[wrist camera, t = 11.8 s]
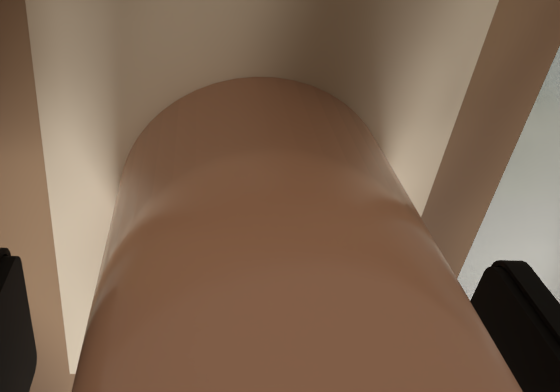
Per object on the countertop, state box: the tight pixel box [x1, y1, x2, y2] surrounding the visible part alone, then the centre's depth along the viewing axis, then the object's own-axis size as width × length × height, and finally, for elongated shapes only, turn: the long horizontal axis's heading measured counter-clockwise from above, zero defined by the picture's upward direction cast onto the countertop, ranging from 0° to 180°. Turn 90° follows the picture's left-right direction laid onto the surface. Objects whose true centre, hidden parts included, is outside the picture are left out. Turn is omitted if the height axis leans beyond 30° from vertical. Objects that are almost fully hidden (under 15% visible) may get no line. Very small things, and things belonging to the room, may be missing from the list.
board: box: [0, 0, 560, 392], centre depth 14 cm, size 14×18×1 cm
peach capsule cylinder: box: [71, 77, 523, 392], centre depth 10 cm, size 7×7×9 cm
